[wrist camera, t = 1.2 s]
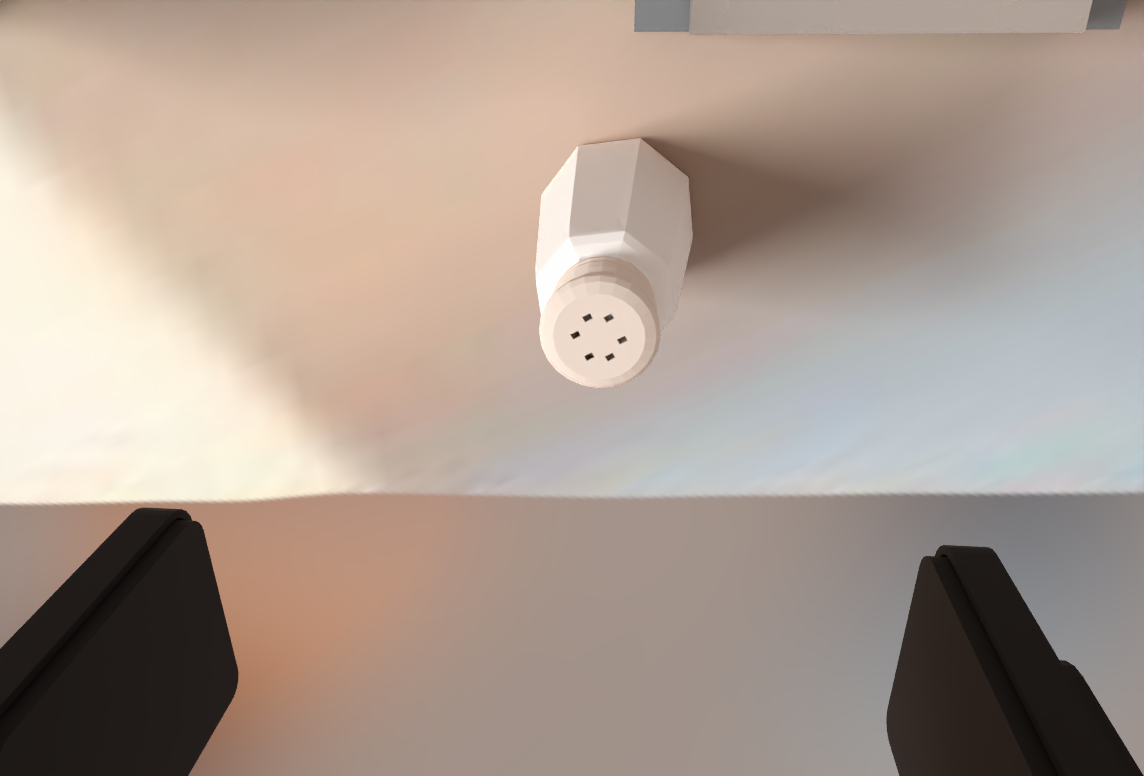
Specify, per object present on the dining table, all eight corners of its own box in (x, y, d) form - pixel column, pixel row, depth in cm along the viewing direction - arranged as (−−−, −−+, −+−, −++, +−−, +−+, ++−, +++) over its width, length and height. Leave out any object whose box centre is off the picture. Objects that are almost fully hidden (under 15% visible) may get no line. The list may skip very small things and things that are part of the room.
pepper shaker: (723, 244, 29) (759, 382, 19) (588, 314, 31) (557, 473, 21) (650, 102, 27) (648, 174, 17) (510, 184, 29) (436, 292, 19)
